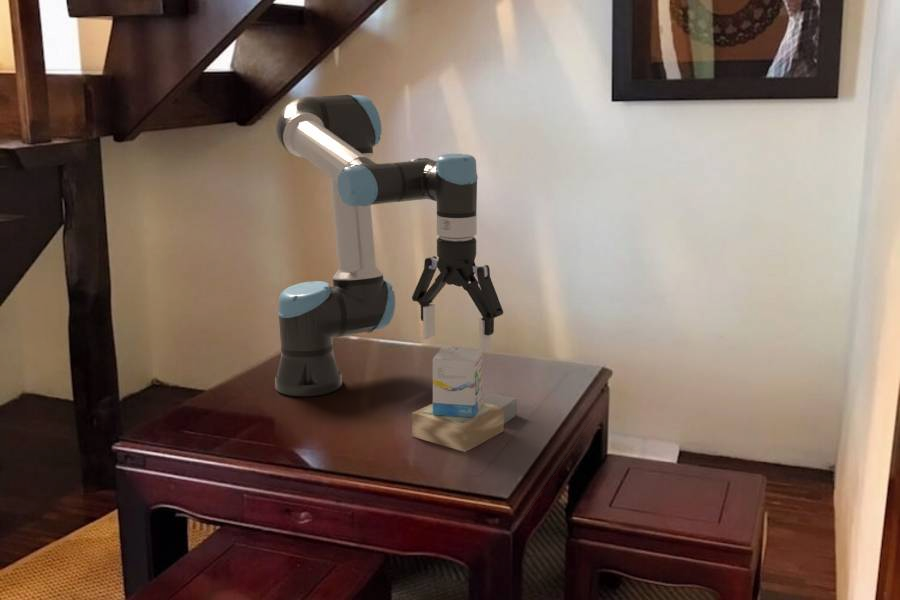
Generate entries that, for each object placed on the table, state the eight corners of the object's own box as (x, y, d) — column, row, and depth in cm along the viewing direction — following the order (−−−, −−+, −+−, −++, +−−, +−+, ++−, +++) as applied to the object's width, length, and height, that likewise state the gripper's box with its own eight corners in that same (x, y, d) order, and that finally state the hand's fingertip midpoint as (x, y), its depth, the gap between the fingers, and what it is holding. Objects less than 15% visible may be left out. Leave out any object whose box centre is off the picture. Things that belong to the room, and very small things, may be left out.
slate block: (477, 420, 206) (477, 402, 205) (491, 411, 211) (491, 393, 210) (502, 425, 203) (502, 407, 202) (516, 416, 208) (516, 398, 207)
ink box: (474, 418, 192) (474, 361, 190) (431, 415, 194) (430, 358, 191) (483, 403, 200) (483, 348, 198) (442, 400, 202) (441, 345, 200)
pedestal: (412, 436, 198) (411, 411, 196) (452, 417, 208) (451, 393, 206) (465, 451, 190) (464, 426, 189) (503, 431, 200) (503, 406, 199)
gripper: (393, 232, 193) (395, 336, 199) (499, 249, 178) (498, 361, 184) (418, 226, 199) (418, 327, 205) (522, 242, 184) (520, 351, 190)
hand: (456, 343), depth 194 cm, fingers open, 13 cm apart
